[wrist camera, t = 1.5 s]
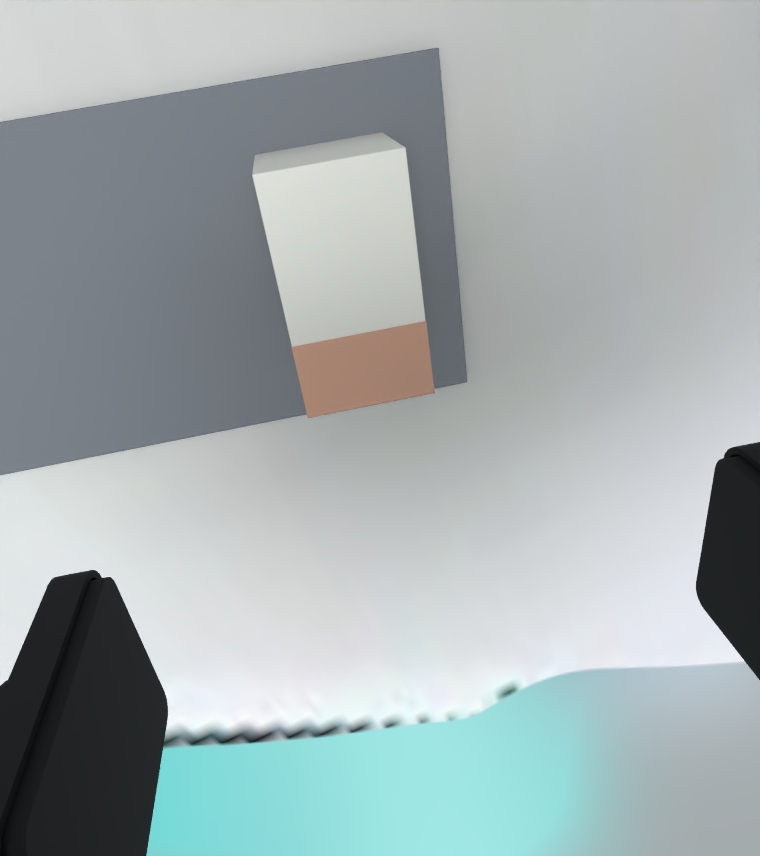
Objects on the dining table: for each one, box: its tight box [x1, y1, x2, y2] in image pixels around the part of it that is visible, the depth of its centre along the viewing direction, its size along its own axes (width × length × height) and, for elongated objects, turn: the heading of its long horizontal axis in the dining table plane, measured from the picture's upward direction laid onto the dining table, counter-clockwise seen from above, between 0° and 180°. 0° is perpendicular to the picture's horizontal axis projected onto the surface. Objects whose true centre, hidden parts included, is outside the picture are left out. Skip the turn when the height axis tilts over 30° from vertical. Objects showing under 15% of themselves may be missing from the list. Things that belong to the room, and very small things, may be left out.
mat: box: [0, 48, 467, 475], centre depth 27 cm, size 24×14×1 cm, turn 98°
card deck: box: [252, 133, 435, 418], centre depth 25 cm, size 5×9×5 cm, turn 8°
